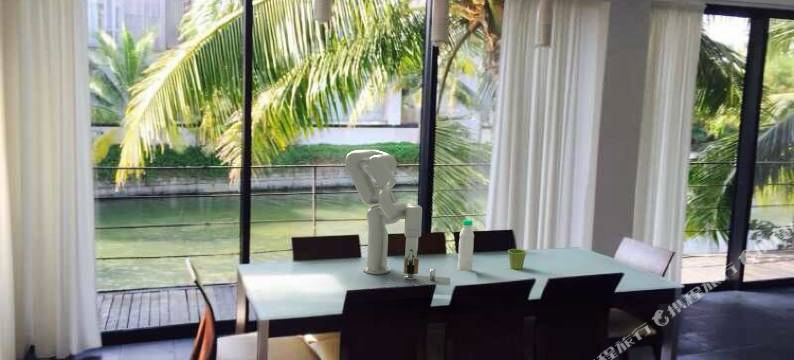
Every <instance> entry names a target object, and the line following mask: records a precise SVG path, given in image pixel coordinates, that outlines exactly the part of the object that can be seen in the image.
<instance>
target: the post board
mask: <svg viewBox="0 0 794 360" xmlns="http://www.w3.org/2000/svg"><path fill="white" fill-rule="evenodd" d="M405 275H406V274H404V273H403V274H399V273H394V274H393V275H392V279H391V282H398V283H413V284H424V285H426V284H427V285H439V286H441V285H442V286H451V277H447V276H445V277H444V276H435V281H430V275H418V274H413V275H414V276H416V280H406V279H405Z"/></svg>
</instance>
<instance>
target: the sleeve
mask: <svg viewBox="0 0 794 360" xmlns="http://www.w3.org/2000/svg"><path fill="white" fill-rule="evenodd" d="M419 262H420V259H419V258H417V257H416V258H415V259H414V274H413V275H418V274H419ZM407 265H408V258H405V257H404V261H403V274H404V275H408V274H407ZM411 275H412V274H411Z"/></svg>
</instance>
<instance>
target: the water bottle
mask: <svg viewBox="0 0 794 360" xmlns="http://www.w3.org/2000/svg"><path fill="white" fill-rule="evenodd" d="M472 226H473V220H471V219H463V221H462V229H461V231H460V232H459V241H458V257H457V261H458V262H457V270H458V271H461V272H462V271H463V272H465V271H467V272H471V271H472V270H473V261H474V260H473V259H474V258H473V254H474V241H475V240H474V238H475V234H474V231H473V229H472Z"/></svg>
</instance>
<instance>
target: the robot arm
mask: <svg viewBox="0 0 794 360" xmlns="http://www.w3.org/2000/svg"><path fill="white" fill-rule="evenodd" d="M344 164H345V170H346V173H347V175H348V176H349V177H350V179H351V181H352V182H353V184H354V186H355V188H356V192H357V193H358V195H359V197H360V199H361V202H362V203H363V205H365V206H371V207H369V209H368V210H367V212H366V222H367V254H366V265H365V266H364V267H363V269H362V271H363V272H365V273H366V274H371V275H385V274H388V273H390V272H391V268H389V267H387V266H388V247H389V246H388V245H389V244H388V243H389V234H388V233H389V232H388V229H387V228H386V226H387V225H392V224H396V223H398V222H399V221H400V220H403V219H404V234H403V235H404V237H405V238H406V239H405V254H404V259H405V258H408V265H407V274H406V275H408V274H413V275H415V274H414V259H415V258H416V259H417V255H418V248H419V247H418V246H419V238H420V237H421V236H422V223H423V222H422V219H423V208H422V206H421V205H418V204H413V203H411V202H408V201H402V202H397V200H396V198H395V196H394V194H393V192H392V190H391V189H392V188H393V187H394V186H395V185H396V183H397V180H396V177H395V176H394V173H393V172H394V171H395V170H396V169H397V160H396V158H395V157H394V156H393V155H392V154H389V153H387V152H384V151H380V150H378V149H357V150H353V151H351V152H349V153H347V155H346V157H345V163H344ZM363 168H369V170H370V173H371V175H372V176H373V179H374V180H375V182H376V184H375V183H374V181H373V180H372V177H371V176H370V174H369V173H368V171H365V169H363Z"/></svg>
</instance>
